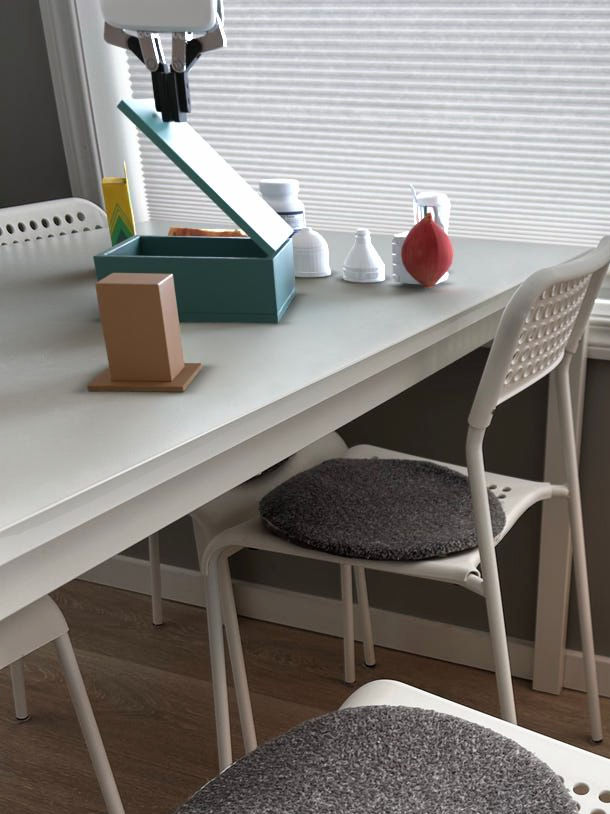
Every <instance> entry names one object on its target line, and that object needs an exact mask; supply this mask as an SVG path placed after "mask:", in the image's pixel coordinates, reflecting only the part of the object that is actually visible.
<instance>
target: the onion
mask: <svg viewBox="0 0 610 814" xmlns="http://www.w3.org/2000/svg"><path fill="white" fill-rule="evenodd" d="M401 258H402V263H403V265H404V267H405V269H406V271H407V272H408V273H409V274H410V275H411V276H412V277H413V278H414V279H415V280H416V281H418V282H419V283H420V284H419V285H421V286H422V287H423V288H424V289H432V288H434V287H435V285H437V284H438V283H437V282H438V281H439V280H440V279H441V278H442V277H443V276H444V275H445V274H446V272H449V270H450V268H451V267H452V265H453V260H454V247H453V242H452V241H451V239H450V237H449V235H448V233H447V234H446V233H445V231H444V230H443V229H442V228H441V227H440V226H439V225H437V224H436V223H435V222H434V220H433V216H432V213H430V212H429V213H426V215H425V216H424V218H423V219H421V220H420V221H419V222H418V223H417V224H416V225H415V224H414V225H413V226H412V227H411V228H410V229H409V233H408V234H407V236H406V238H405V240H404V242H403V245H402V249H401ZM436 283H437V284H436Z"/></svg>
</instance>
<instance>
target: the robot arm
mask: <svg viewBox="0 0 610 814" xmlns="http://www.w3.org/2000/svg"><path fill="white" fill-rule="evenodd" d="M98 1H99V7H100V11H101V15H102V18H103V19H104V23H103V40H104V42H105V43H106V44H108V45H110V46H115V47H117V48H121V49H124V50H127V51H130V52H132V53H133V55H134V56H135V57H137V59H138V60H140V62H141V63H142V64H143V65H144V66H145V68H146V70H147V71H149V72H150V77H151V84H152V85H151V86H152V93H153V99H154V102H155V108H156V111H157V112H161V114H162V121H163V122H175V123H182V122H187V123H188V121H187V120H188V117H187V116H188V115H187V114H191V113H192V102H191V101H192V100H191V92H190V83H189V73H190V72H191V70H192V68H193V67H194V66H195V64H196V63H197V61H198V60H199V59H200V58H201V57H202V55H203V54H207V53H208V54H209V53H211V52H216V51H219V50H223V49H226V47H227V38H226V35H225V32H224V29H223V27H224V22H225V15H224V4H223V0H98ZM125 30H126V31H129V32H135V33H136V35H137V36H136V35H134V34H133V35H132V34H129V33H127V32H126V31H125ZM159 34H171V63H170V64H169V66H168V64H167V63H166V61H165V56H164V52H163V48H162V44H161V39H160V36H159ZM193 35H198V37H195V38H193ZM199 35H200V36H199ZM169 71H170V72H169Z"/></svg>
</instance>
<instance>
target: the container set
mask: <svg viewBox="0 0 610 814" xmlns="http://www.w3.org/2000/svg"><path fill="white" fill-rule="evenodd" d="M311 227H312V226H306V227H302V230H301V231H299V232H297V233H295V234H294V235H293V236H292V237H291V238H292V245H293V259H294V274H295V278H296V277H298V278H320V277H321V278H322V277H328V276H330V275H331V274H332V271H331V267H330V262H329V254H330V253H329V246H328V243H327V242H326V240H325V239H324V237H323V236H322V235H321V234H319V232H317V231H314V230H312V228H311ZM409 231H410V230H409ZM409 231H408V230H407V231H405V232H400V233H397V234H394V235H393V236H392V240H391V243H392V244H391V246H392V247H391V248H392V249H391V251H392V279H393V281H394V282H396V283H401V284H413V285H421V284H420V283H419V282H418V281H416V280H415V279H414V278H413V277H412V276H411V275H410V274H409V273H408V272H407V271H406V269H405V267H404V265H403V263H402V258H401V249H402V245H403V242H404V240H405V238H406V236H407V234H408V233H409ZM354 235H355V236H354V244H353V246H352V247H351V249H350V250H349V253H348V254H347V257H346V258H345V260H344V261H343V263H342V268H343V269H342V275H343V276H342V278H343V281H346V282H350V283H351V282H353V283H365V284H367V283H376V282H377V283H378V282H383V281H385V279H386V276H385V273H386V270H385V263H384V262H383V260H382V259H381V257H380V256H379V254H378V252H377V251H376V249H375V247H374V245H373V244H372V243H371V236H370V235H371V231H370V230H368V229H367V228H357V229H356V231H355V232H354ZM448 278H449V271H447V272H446V274H445V275H444V276H443V277H442V278H441V279H440V280H439V281H438V282H437V283H436V284H435V285H437V284H439V283H442V282H444V281H446V280H448Z"/></svg>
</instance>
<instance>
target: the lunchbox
mask: <svg viewBox="0 0 610 814" xmlns="http://www.w3.org/2000/svg"><path fill="white" fill-rule="evenodd" d="M92 258H93V264H94V270H95V277H96V283H97V282H98V281H100V280H102V279H103V278H105V277H107V276H109V275H110V274H112V273H149V274H173V280H174V288H175V296H176V303H177V311H178V319H179V323H180V322H181V323H182V322H184V323H186V322H187V323H243V324H244V323H245V324H246V323H247V324H251V323H252V324H253V323H254V324H278V323H279V322H280V321H281V319H282V317H283V316H284V315H285V314H286V311H287V310H288V308H289V306H290V305H291V303H292V301H293V300H294V298H295V297H296V295H297V289H296V276H295V274H294V259H293V245H292V238H288V239H287V240H286V241H285V242H284V243H283V244H282V245H281V246H280V247H279V248H278V249H277V251H276V252H275V253H274V254H273V255H272V256H271V257H269V256H268V255H267V254H266V253H265V252H264V251H263V250H262V249H261V248H260V247H259V246H258V245H257V244H256V243H255V242H254V241H253V240H252V239H251V238H250V237H204V236H168V235H156V234H155V235H153V234H152V235H151V234H150V235H148V234H147V235H146V234H144V235H143V234H136V235H134V236H132V237H130V238H128V239H126V240H124V241H122V242H120V243H118V244H116V245H114V246H113V247H112V246H110V247H109V248H107V249H105V250H103V251H100V252H98V253H97V254H95V255H93V256H92Z"/></svg>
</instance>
